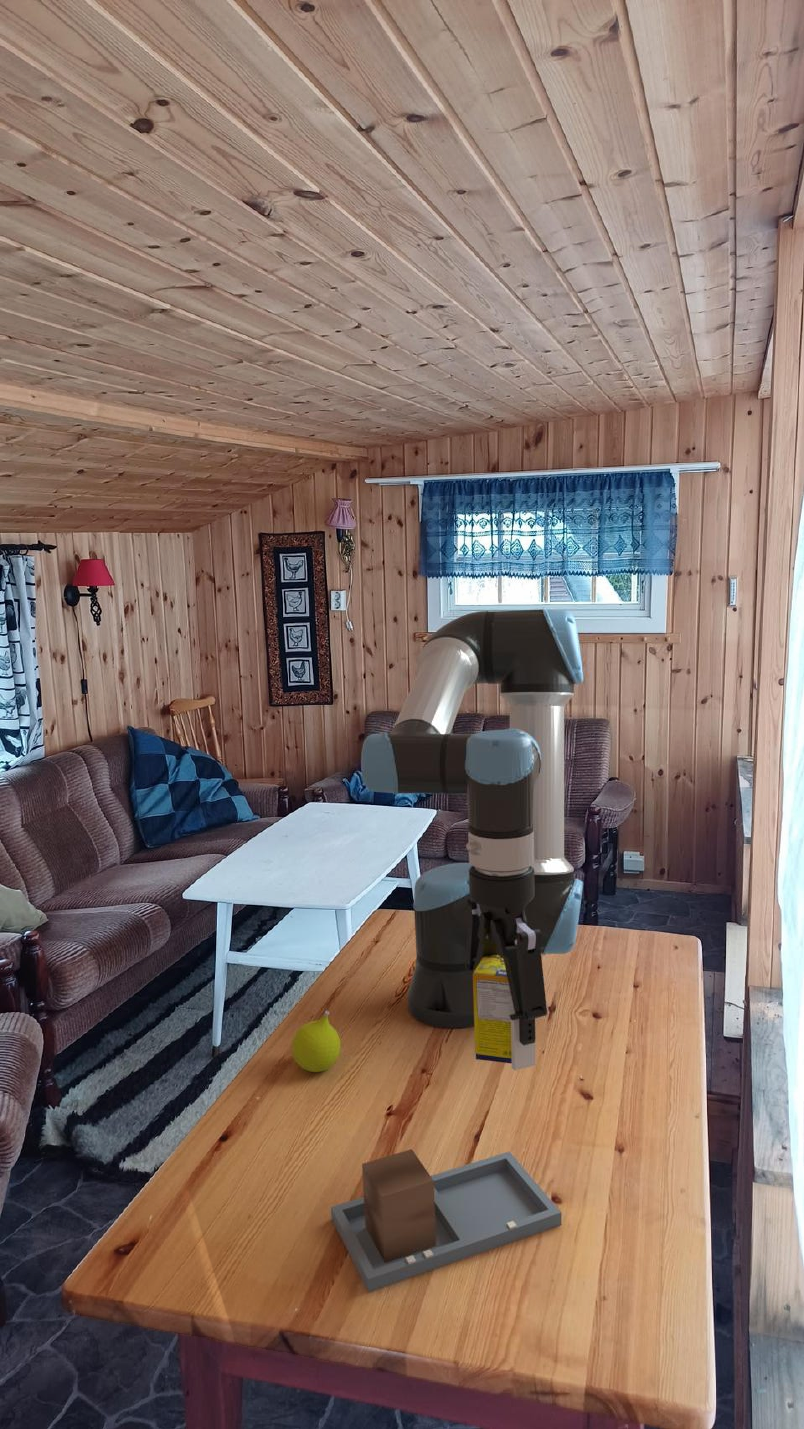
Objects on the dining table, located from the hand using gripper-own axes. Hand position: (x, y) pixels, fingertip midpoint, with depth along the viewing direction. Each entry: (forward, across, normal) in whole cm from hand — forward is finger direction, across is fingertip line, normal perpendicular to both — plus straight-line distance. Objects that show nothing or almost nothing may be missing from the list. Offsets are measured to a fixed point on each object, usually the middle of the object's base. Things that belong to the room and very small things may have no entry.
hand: (505, 1048), depth 117 cm
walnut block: (+16, +5, -16) cm, 23 cm away
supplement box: (+1, 0, 0) cm, 1 cm away
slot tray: (+16, +5, -11) cm, 20 cm away
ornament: (+16, -33, -14) cm, 39 cm away
